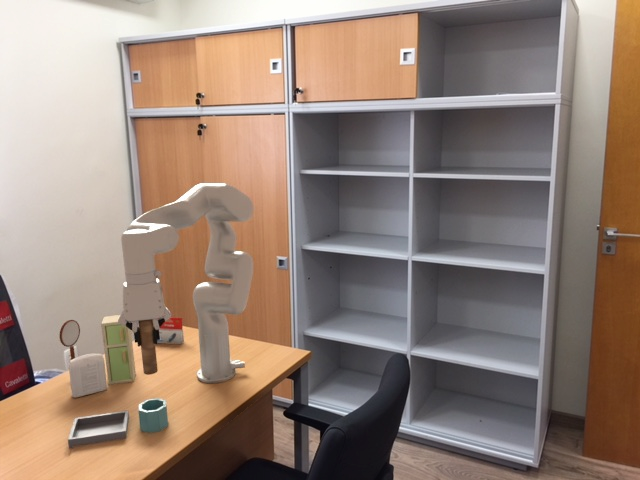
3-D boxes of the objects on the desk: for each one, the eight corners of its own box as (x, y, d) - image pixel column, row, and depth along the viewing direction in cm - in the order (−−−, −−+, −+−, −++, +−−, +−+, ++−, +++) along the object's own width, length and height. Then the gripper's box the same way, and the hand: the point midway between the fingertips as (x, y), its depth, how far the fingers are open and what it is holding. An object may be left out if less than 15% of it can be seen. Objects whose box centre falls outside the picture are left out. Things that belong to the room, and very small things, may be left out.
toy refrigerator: (107, 386, 174) (100, 324, 169) (110, 376, 181) (104, 316, 176) (133, 383, 175) (127, 321, 171) (135, 373, 182) (129, 313, 178)
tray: (129, 418, 154) (128, 410, 153) (126, 439, 144) (125, 430, 143) (75, 426, 150) (74, 418, 150) (69, 448, 140) (67, 439, 139)
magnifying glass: (68, 384, 176) (60, 325, 171) (63, 383, 176) (56, 325, 172) (86, 372, 184) (79, 316, 179) (82, 371, 184) (75, 315, 180)
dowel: (157, 367, 149) (152, 315, 145) (157, 373, 145) (152, 320, 142) (144, 369, 148) (138, 317, 145) (143, 375, 144) (137, 322, 141)
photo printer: (105, 385, 175) (101, 348, 172) (108, 390, 171) (104, 353, 168) (70, 394, 169) (66, 356, 166) (73, 399, 166) (68, 361, 163)
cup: (168, 417, 154) (166, 396, 153) (168, 431, 147) (166, 409, 146) (141, 421, 152) (139, 400, 151) (139, 436, 145) (137, 413, 144)
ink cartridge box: (181, 344, 206) (179, 319, 204) (154, 342, 208) (152, 318, 206) (184, 341, 208) (182, 317, 206) (157, 340, 210) (155, 316, 208)
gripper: (173, 270, 146) (179, 334, 150) (108, 276, 142) (116, 342, 146) (174, 278, 139) (180, 344, 143) (105, 284, 135) (113, 353, 139)
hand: (147, 342), depth 145 cm, fingers closed on dowel, 3 cm apart
